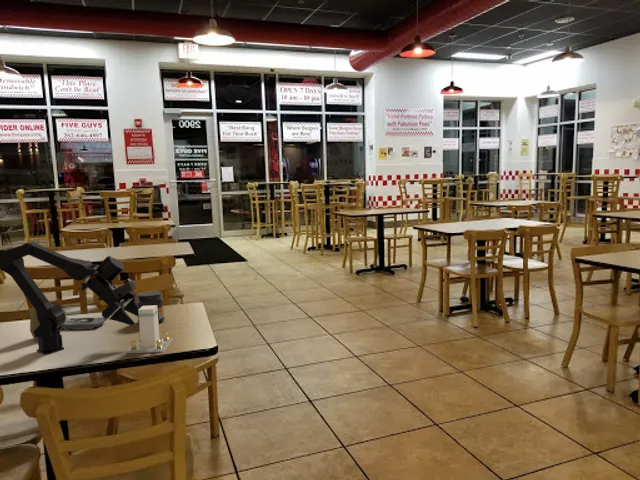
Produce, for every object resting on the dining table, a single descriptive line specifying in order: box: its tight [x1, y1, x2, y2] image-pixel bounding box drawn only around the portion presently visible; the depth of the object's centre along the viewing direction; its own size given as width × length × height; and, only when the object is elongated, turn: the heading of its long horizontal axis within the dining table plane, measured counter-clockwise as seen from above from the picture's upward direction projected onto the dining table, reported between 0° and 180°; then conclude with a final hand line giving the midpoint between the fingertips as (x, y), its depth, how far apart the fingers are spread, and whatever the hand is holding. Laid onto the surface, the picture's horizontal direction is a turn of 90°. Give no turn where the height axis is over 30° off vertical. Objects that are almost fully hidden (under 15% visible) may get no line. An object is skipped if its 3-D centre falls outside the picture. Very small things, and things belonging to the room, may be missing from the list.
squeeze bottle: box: [29, 306, 40, 341], centre depth 186 cm, size 8×8×18 cm
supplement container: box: [136, 290, 166, 324], centre depth 204 cm, size 10×10×12 cm
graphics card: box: [58, 316, 107, 332], centre depth 200 cm, size 17×4×12 cm
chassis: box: [126, 331, 173, 354], centre depth 175 cm, size 12×12×4 cm
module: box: [138, 305, 161, 346], centre depth 174 cm, size 5×5×13 cm
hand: (138, 320), depth 173 cm, fingers open, 9 cm apart
